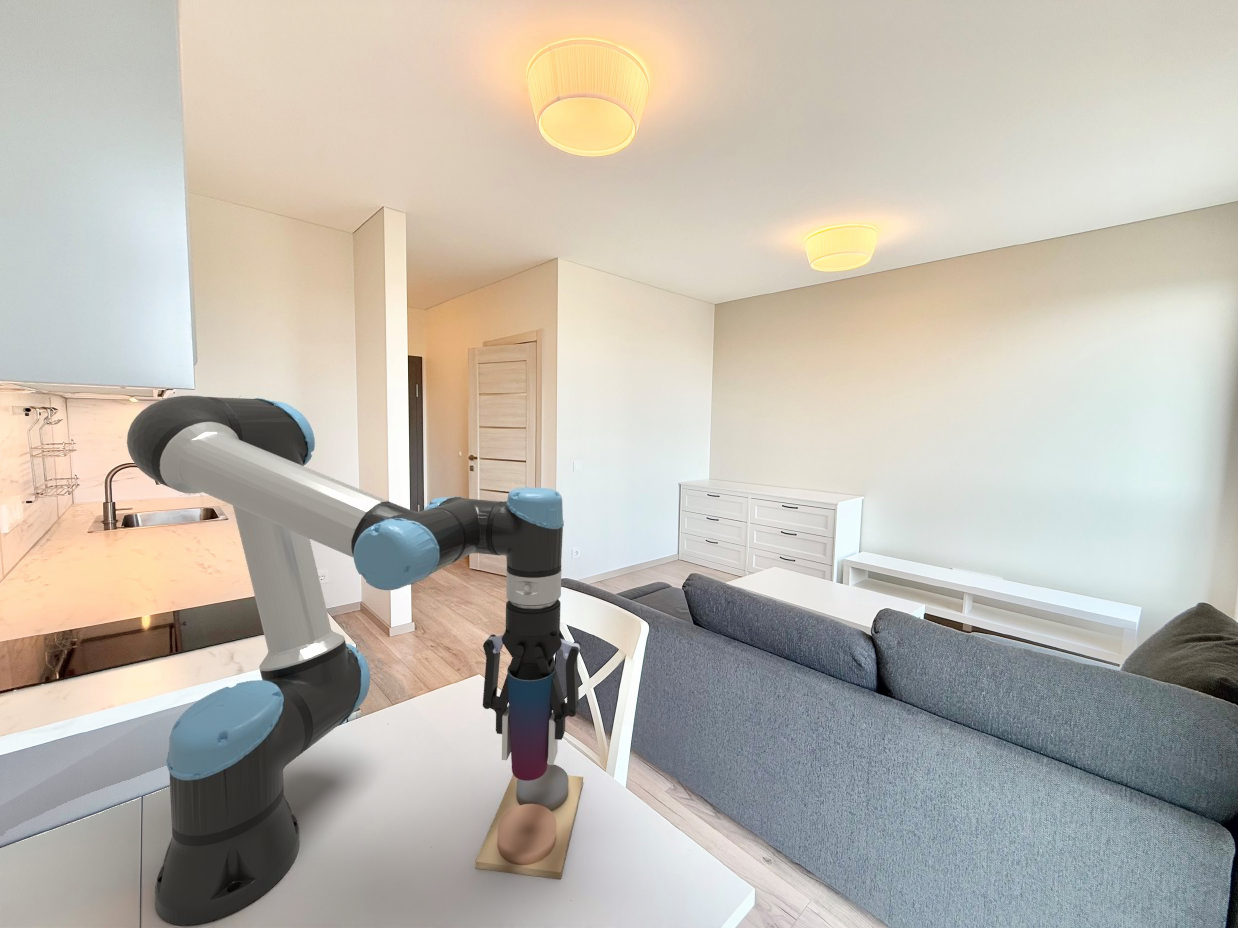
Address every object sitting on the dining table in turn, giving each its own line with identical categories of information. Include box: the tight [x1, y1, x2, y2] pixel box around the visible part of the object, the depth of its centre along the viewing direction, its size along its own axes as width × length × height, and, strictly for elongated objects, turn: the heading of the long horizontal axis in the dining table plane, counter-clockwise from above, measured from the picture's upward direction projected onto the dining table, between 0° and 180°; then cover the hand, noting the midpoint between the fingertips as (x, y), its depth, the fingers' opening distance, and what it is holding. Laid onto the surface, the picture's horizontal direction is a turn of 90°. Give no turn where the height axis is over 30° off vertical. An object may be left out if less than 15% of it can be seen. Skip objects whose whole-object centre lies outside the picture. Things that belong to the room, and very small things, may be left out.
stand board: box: [474, 763, 584, 880], centre depth 76 cm, size 12×18×3 cm, turn 175°
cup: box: [506, 664, 557, 781], centre depth 70 cm, size 7×7×15 cm
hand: (529, 755), depth 70 cm, fingers closed on cup, 6 cm apart
